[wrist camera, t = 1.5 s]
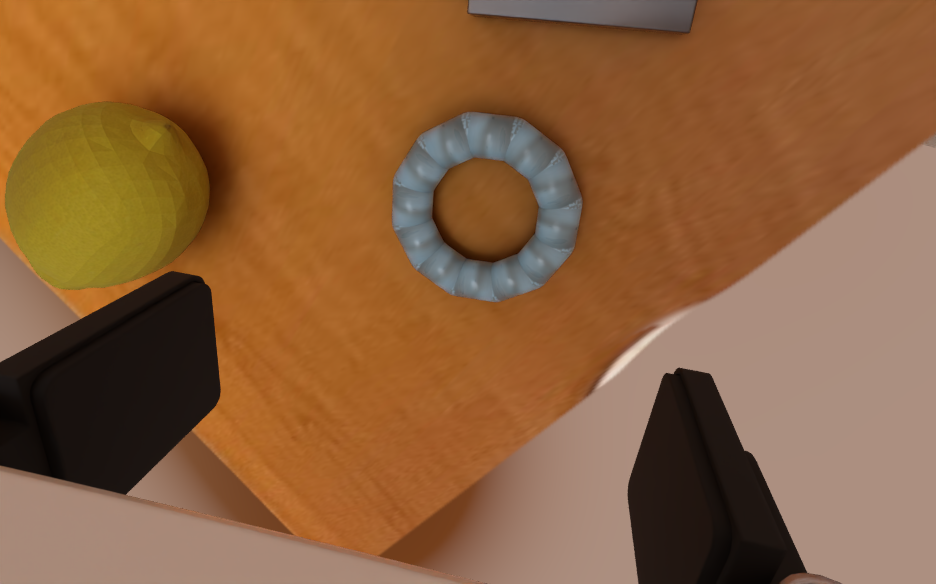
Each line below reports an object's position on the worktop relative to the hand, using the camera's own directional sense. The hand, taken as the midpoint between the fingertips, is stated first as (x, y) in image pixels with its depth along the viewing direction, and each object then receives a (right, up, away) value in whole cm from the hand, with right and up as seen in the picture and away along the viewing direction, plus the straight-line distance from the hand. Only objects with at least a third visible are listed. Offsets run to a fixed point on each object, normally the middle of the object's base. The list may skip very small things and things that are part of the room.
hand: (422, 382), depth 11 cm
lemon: (-16, +8, +19) cm, 26 cm away
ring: (+2, +6, +15) cm, 16 cm away
